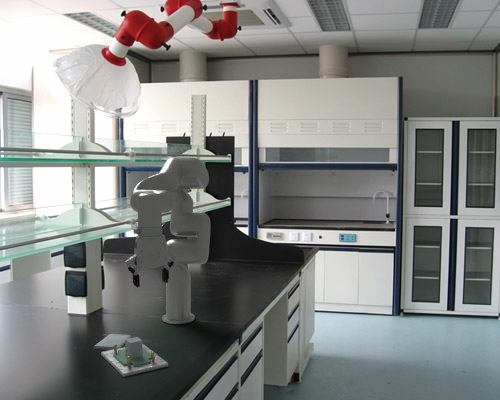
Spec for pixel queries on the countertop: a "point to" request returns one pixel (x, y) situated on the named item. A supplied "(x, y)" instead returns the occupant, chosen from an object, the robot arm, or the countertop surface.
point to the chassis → (129, 368)
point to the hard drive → (112, 341)
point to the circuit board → (135, 360)
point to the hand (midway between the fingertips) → (151, 284)
